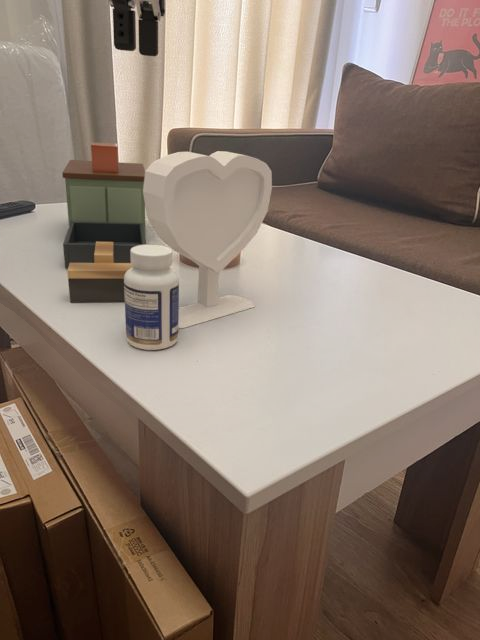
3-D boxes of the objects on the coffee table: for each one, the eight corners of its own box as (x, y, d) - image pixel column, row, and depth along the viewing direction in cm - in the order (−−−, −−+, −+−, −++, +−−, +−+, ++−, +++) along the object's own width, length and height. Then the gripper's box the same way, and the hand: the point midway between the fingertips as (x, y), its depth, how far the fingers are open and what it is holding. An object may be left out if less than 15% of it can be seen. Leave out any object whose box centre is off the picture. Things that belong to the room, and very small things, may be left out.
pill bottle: (160, 325, 58) (159, 239, 54) (188, 343, 55) (190, 253, 51) (116, 337, 55) (112, 246, 51) (143, 356, 52) (141, 260, 47)
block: (92, 171, 83) (90, 144, 81) (93, 167, 87) (91, 142, 85) (118, 172, 84) (117, 146, 82) (118, 169, 88) (117, 143, 86)
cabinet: (68, 242, 85) (62, 172, 80) (74, 220, 97) (69, 159, 93) (147, 243, 88) (146, 176, 83) (143, 222, 101) (142, 163, 96)
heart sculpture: (167, 332, 57) (168, 158, 49) (141, 317, 60) (137, 151, 52) (266, 303, 67) (279, 155, 60) (239, 291, 70) (248, 149, 63)
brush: (75, 277, 70) (72, 241, 68) (136, 277, 72) (135, 242, 70) (70, 302, 62) (66, 262, 60) (139, 301, 64) (138, 262, 62)
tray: (65, 268, 73) (63, 244, 72) (72, 243, 84) (70, 221, 83) (147, 269, 76) (146, 245, 74) (143, 244, 87) (143, 223, 86)
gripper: (122, -108, 60) (126, 55, 67) (68, -163, 47) (80, 44, 54) (187, -103, 59) (184, 60, 66) (149, -158, 47) (151, 51, 54)
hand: (137, 53), depth 60 cm, fingers open, 8 cm apart
